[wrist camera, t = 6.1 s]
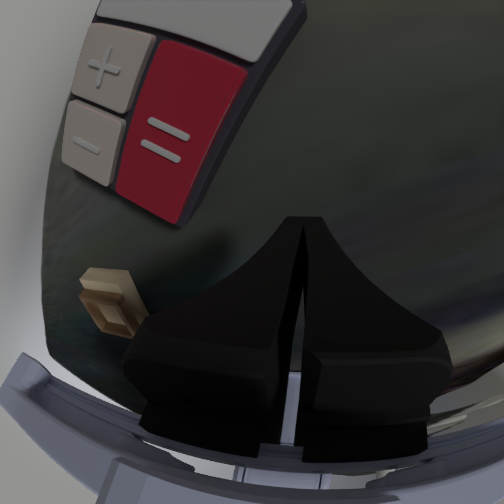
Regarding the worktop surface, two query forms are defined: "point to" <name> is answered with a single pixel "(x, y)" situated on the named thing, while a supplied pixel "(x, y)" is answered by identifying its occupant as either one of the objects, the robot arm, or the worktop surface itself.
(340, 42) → the worktop surface
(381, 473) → the can
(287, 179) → the worktop surface
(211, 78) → the calculator
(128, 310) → the tan rectangular frame
